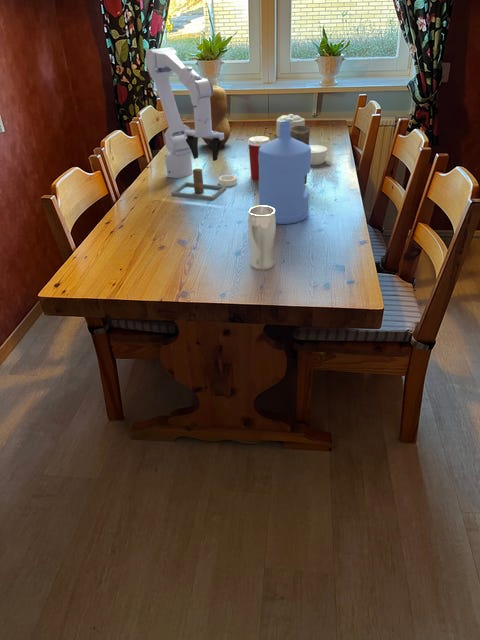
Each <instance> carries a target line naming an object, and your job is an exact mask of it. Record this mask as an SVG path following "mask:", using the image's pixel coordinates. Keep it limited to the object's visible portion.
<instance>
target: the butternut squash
mask: <svg viewBox="0 0 480 640" xmlns="http://www.w3.org/2000/svg"><path fill="white" fill-rule="evenodd" d="M227 103H228V101H227V93H226V90H225V89H224V88H222V87H221V86H219V85H213V95H212V96H211V97H210V106H211V123H212V131H216V132H220V133H224V139H223V141H222V143H221V146H220V147H222V146H224V145H225V144H226V143H228V141H229V139H230V137H231V127H230V123H229V121H228V118H227V108H228V105H227ZM201 139H202V140H203V142H204V143H205V144H207V145H209V146H210V147H211V143H210V141H212V140H213V139H210V138H201Z"/></svg>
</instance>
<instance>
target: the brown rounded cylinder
mask: <svg viewBox="0 0 480 640" xmlns="http://www.w3.org/2000/svg"><path fill="white" fill-rule="evenodd" d="M310 133H311V129H310V128H309V127H308V126H306V125H305V126H301V125H300V126H293V127H291V131H290V136H291V137H292V138H294V139H296V140H298V141H301V142H303V143H305V144H307V145H310ZM307 179H308V174H307V175H306V176H305V185H306V184H307V182H308V181H307Z"/></svg>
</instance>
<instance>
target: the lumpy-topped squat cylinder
mask: <svg viewBox="0 0 480 640" xmlns="http://www.w3.org/2000/svg"><path fill="white" fill-rule="evenodd" d="M283 121H288V122H291V124H290V128H291V127H293V126H300V125H301V126H306V125H305V123H306V121H305V118H303V117H301V116H300V115H297V114H296V115H295V114H293V113H289V114H287V115H286V114H284V115H283V114H282V115H281V116H279V117H278V118H277V119H276V129H275V130H276V133H275V134H276V138H278V137H279V136H280V122H283Z"/></svg>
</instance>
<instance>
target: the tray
mask: <svg viewBox="0 0 480 640" xmlns="http://www.w3.org/2000/svg"><path fill="white" fill-rule="evenodd" d="M186 187H193V188H194V182H188V181H186V182H184V183H183V184H181V185H180V186H178V187H177V188H176V189H174V190H172V191H171V196H174V197H183V198H190V199H191V198H192V199H198V200H199V199H200V200H206V201H207V200H208V201H214V200H216V199H217V198H218V197H219V196H221V195H222V194H223V193H224V192H225V191H226V190H227V186H221V185H215V184H214V185H213V184H206V183H203V189H211V190H218V191H216V192H215V193H214V194H213V195H212V196H211V195H203V194H196V193H188V192H187V193H186V192H181V191H182V190H184V189H185V188H186Z"/></svg>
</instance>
